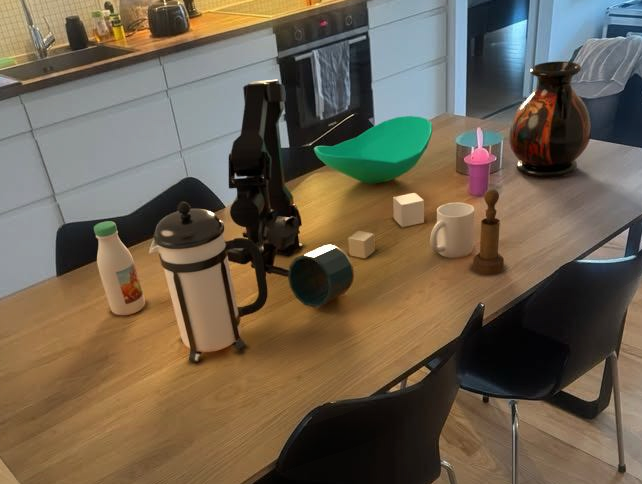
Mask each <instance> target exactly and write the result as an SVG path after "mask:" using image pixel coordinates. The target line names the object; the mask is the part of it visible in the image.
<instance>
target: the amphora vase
mask: <svg viewBox="0 0 642 484" xmlns="http://www.w3.org/2000/svg"><path fill="white" fill-rule="evenodd" d="M581 71H582V66H581V65H580V64H579V63H577V62H572V61H547V62H541V63H538V64H535V65H533V66H532V67H531V68H530V70H529V73H530V74H531V75H532V76H534V77H536V87H535V88H534V90H533V91H532V93H531V94H530V95H529V96H528V97H527V98H526V99H525V100H524V101H523V102H522V103H521V104H520V106H519V107H518V108H517V110H516V112H515V113H514V115H513V118H512V120H511V126H510V129H509V137H508V138H509V146H510V149H511V151H512V153H513V154H514V156H515V157H516V158H517V159H518V161H517V163H516V170H517V171H518V172H519V174H522V175H523V176H525V177H529V178H534V179H541V180H547V179H550V180H551V179H558V178H563V177H566V176H568V175H571V174H572V173H574V172H575V171H576V169H577V167H578V163H577V161H576V160H577V159H578V158H579V157H580V156H581V155H582V154H583V153H584V151H585V150H586V149H587V148H588V145H589V143H590V139H591V134H592V130H591V129H592V126H591V117H590V113H589V111H588V110H589V109H588V108H587V105H586V104H585V102H584V101H583V100H582V98H581V97H580V96H579V95H578V94H577V92H576V91H575V89H574V87H573V86H572V81H573V77H574V76H575V75H577V74H579V73H580V72H581Z"/></svg>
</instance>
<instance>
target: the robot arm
mask: <svg viewBox="0 0 642 484" xmlns="http://www.w3.org/2000/svg"><path fill="white" fill-rule="evenodd" d="M242 90H243V100H244V101H243V102H244V106H243V114H242V123H241V129H240V135H239V136H238V137H236V139H235V140H233V142H232V145H231V151H230V152H229V154H228V189H236V196H235V199H234V200H233V202H232V204H231V205H230V209H229V215H230V218H231V220H232V221H233V223H234V224H236V225H237V226H239V227H242V228H245V231H243V232H242V238H246V239H249V240H251V241H252V242H254V243H255V244H256V245H257V247H258V248H259V250H260V252H261V255H262V259H263V263H264V269H265V275H266V276H267V274H268V275H271V274H272V273H270V272H266V264H268V265H272V266H274V263H275V259H276V254H277V255H280V256H285V257H288V256H290V255H291V254H293V253H295V252H297V251H298V250H299V249H301V248H302V247H303V243H300V238H299V234H301V231H300V227H302V225H303V224H302V216H301V214H300V211H299V209H298V207H297V204H295V203H294V196H293V194H292V193H291V192H290V190H289V189H288V187H287V186H286V181H285V172H284V161H283V153H282V143H281V142H282V141H281V133H280V132H281V131H280V123H279V121H280V119H281V117H282V114H283V112H284V110H285V103H286V98H287V97H286V88H285V85H284V84H282V83H280V80H278V79H272V80H271V79H270V80H259V81H251V82H250V83H247V84H245V85H244V86H243V87H242ZM236 177H237V178H236ZM227 256H228V261H229V263H230V262H231V263H235V264H239V265H247V264H248V263H250V264H251V263H252V264H253V265H254V261H253V256H252V254H251V252H250V251H248V250H247V249H244V248H238V249H236V248H234V249H230V250H228V255H227Z"/></svg>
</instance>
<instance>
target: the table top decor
mask: <svg viewBox="0 0 642 484" xmlns="http://www.w3.org/2000/svg"><path fill="white" fill-rule="evenodd" d="M432 135H433V123H432V122H431V121H430V120H429V119H427V118H425V117H421V116H414V115H407V116H397V117H394V118H391V119H388V120H387V119H386V120H384V121H382V122H380V123H378V124H376V125H373V126H372V127H370V128H368V129H367V130H365V131H364V132H362V133H361V134H359V135H358V136H355V137H353V138H350V139H348V140H344V141H342V142H340V143H338V144H334V145H333V146H332V145H317V146H315V147H314V148H313V151H314V153H315V156H316V157H317V158H318V159H319V160H320V161H321V162H322V163H323V164H324V165H326V166H328V167H330V168H331V169H333V170H334V171H337V172H339V173H341V174H343V175H345V176H348V177H350V178H352V179H354V180H357V181H359V182H360V183H363V184H369V185H370V184H371V185H373V184H380V183H385V182H388V181H391V180H394V179H396V178H399V177H401V176H402V175H404V174H406V173H408V172H410V170H411V169H413V168H414V167H415V166H416V165H417V163H418V162H419V161H420V160H421V157H422V156H423V155H424V153H425V152H426V150H427V148H428V146H429V143H430V141H431V138H432Z"/></svg>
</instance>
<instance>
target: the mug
mask: <svg viewBox="0 0 642 484" xmlns="http://www.w3.org/2000/svg"><path fill="white" fill-rule="evenodd" d="M474 223H475V207H474V206H473V205H472V204H469V203H466V202H449V203H445V204H442V205H440V206H439V207H437V209H436V223H435V225H434V226H433V228H432V230H431V232H430V237H429V244H430V248H431V249H432V250H433V252H436V253H438V254H439V255H440V256H442V257H444V258H450V259H457V258H458V259H460V258H464V257H466V256H469V255H470V254H471V253H472V252H473V248H474V228H475V226H474V225H475V224H474Z"/></svg>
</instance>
